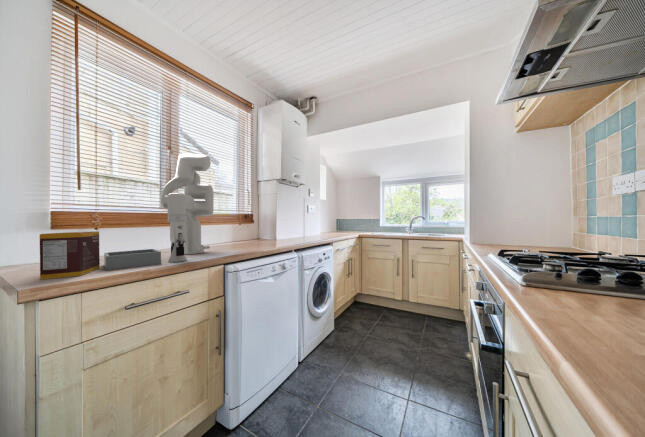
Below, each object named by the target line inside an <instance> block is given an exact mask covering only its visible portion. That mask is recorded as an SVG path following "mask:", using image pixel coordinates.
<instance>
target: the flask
mask: <svg viewBox="0 0 645 437" xmlns="http://www.w3.org/2000/svg"><path fill="white" fill-rule="evenodd" d="M178 244H179V243H178ZM176 247H177V245H176V243H174V247H173V251H172V253H171V252H170V256H169V258H168V262H167V263H179V262H185V261H187V256H186V254H184V255H183V256H176Z"/></svg>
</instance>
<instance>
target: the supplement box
mask: <svg viewBox="0 0 645 437" xmlns="http://www.w3.org/2000/svg"><path fill="white" fill-rule="evenodd" d="M100 260H101V259H100V231H99V230H98V231H69V232H68V231H66V232H49V233H39V280H48V279H49V280H50V279H60V278H71V277H81V276H85V275H87V274H89V273H92V272H94V271H97V270H99V269H100V263H101V262H100Z"/></svg>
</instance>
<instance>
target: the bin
mask: <svg viewBox="0 0 645 437" xmlns="http://www.w3.org/2000/svg"><path fill="white" fill-rule="evenodd" d="M103 256H104V257H103V260H104V261H103V262H104V264H103V265H104V268H105V271H111V270H120V269H121V270H122V269H128V268H135V267H145V266H146V267H147V266H153V265H162V251H160V250H158V249H154V248H149V249H148V248H146V249H145V248H144V249H135V250H133V249H132V250H124V251H123V250H122V251H120V250H119V251H109V252H104V253H103Z"/></svg>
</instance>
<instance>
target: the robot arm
mask: <svg viewBox="0 0 645 437" xmlns="http://www.w3.org/2000/svg"><path fill="white" fill-rule="evenodd" d="M210 167H211V158H210V156H209V155H206V154H194V153H181V154H179V155H178V158H177V164H176V171H175V176H174V177H173V178H172V179H171V180H169V181H168V182H167V183H166V184H165V185H164V187H163V189H162V192H161V197H160V204H161V207H162V208H163V209H164V210H167V223H169V224H170V225H169V241H170V254H171V253H172V251H173V247H174V243H176V245H177V247H176V256H183V255H184V254H185V255H196V254H203V253H205V250H209V249H210V248H211V247H210V246H211V245H204V244H202V223H201V221H200V220H199V217H211V216H212V215H214V209H215V208H214V203H215V202H214V195H215V194H214V189H213V186H212V185H211V184H207V183H201V176H200V174H199V173H198V172H206V171H207V170H209V169H210ZM181 188H183V193H180V192H175V191H176V190H179V189H181ZM178 243H179V244H178Z"/></svg>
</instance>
